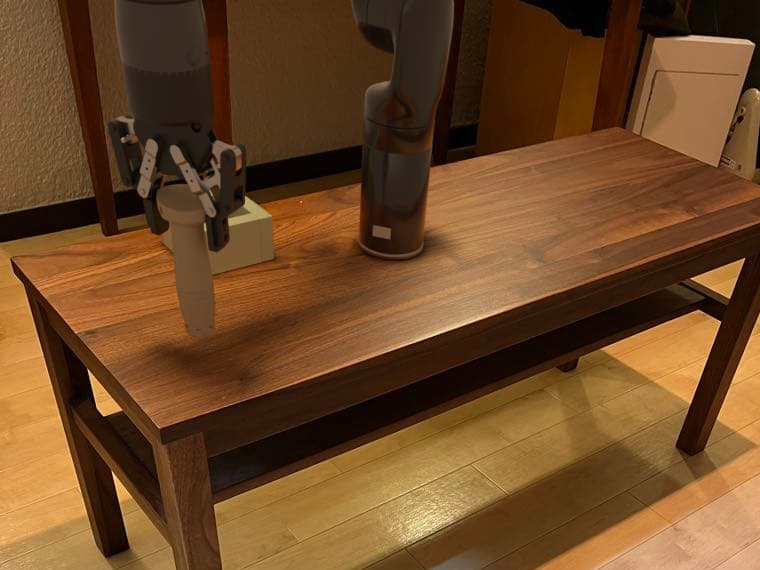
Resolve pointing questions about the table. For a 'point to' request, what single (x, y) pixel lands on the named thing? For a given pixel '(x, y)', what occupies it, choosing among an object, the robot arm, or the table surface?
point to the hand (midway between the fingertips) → (188, 239)
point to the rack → (241, 239)
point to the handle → (190, 258)
